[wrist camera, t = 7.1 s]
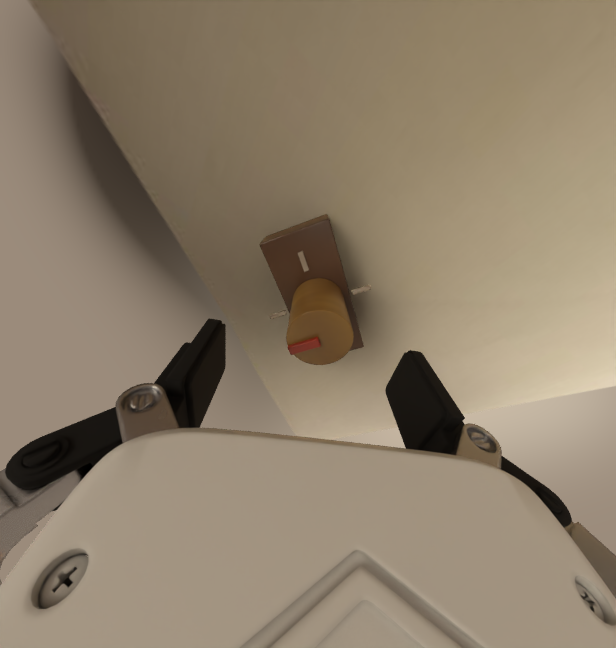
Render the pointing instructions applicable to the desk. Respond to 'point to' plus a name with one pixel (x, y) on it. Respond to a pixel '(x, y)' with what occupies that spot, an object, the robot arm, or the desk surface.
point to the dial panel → (308, 263)
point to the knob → (319, 323)
